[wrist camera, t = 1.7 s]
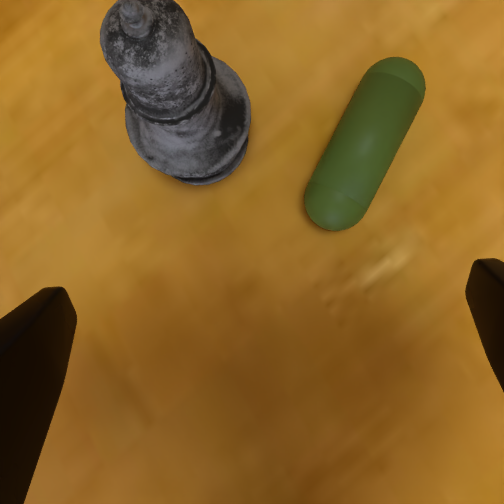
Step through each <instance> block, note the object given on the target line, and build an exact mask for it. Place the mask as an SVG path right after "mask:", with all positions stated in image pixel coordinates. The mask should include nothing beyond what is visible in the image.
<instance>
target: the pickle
mask: <svg viewBox="0 0 504 504" xmlns="http://www.w3.org/2000/svg"><path fill="white" fill-rule="evenodd" d="M425 89H426V87H425V79H424V76H423V74H422V72H421V70H420V69H419V67H418V66H417V65H416V64H415V63H413V62H412V61H410V60H408V59H405V58H402V57H390V58H386V59H383V60H380V61H378V62H377V63H375V64H374V65H372V66H371V67H370V68H369V69H368V70H367V72H366V73H365V75H364V76H363V78H362V80H361V81H360V83H359V85H358V87H357V89H356V91H355V93H354V95H353V97H352V99H351V101H350V103H349V105H348V107H347V109H346V111H345V113H344V115H343V116H342V118H341V120H340V122H339V124H338V126H337V128H336V130H335V132H334V134H333V136H332V138H331V140H330V142H329V144H328V146H327V148H326V150H325V151H324V153H323V155H322V157H321V159H320V161H319V163H318V165H317V167H316V169H315V171H314V173H313V175H312V177H311V179H310V181H309V183H308V185H307V187H306V190H305V195H304V204H305V208H306V211H307V213H308V215H309V217H310V218H311V219H312V221H314V222H315V223H316V224H317V225H318V226H320V227H322V228H324V229H327V230H332V231H340V230H345V229H348V228H350V227H352V226H354V225H355V224H357V223H358V222H359V221H360V220H361V219H362V218H363V216H364V215H365V213H366V212H367V210H368V208H369V206H370V204H371V202H372V200H373V198H374V196H375V194H376V192H377V190H378V188H379V186H380V184H381V182H382V180H383V178H384V176H385V174H386V173H387V171H388V169H389V167H390V165H391V163H392V161H393V159H394V157H395V155H396V153H397V151H398V149H399V147H400V145H401V143H402V141H403V139H404V137H405V135H406V133H407V132H408V130H409V128H410V126H411V124H412V122H413V120H414V118H415V116H416V114H417V112H418V110H419V108H420V106H421V104H422V102H423V99H424V95H425Z"/></svg>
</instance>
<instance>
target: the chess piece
mask: <svg viewBox="0 0 504 504" xmlns="http://www.w3.org/2000/svg"><path fill="white" fill-rule="evenodd" d="M100 44H101V48H102V51H103V54H104V57H105V60H106V62H107V63H108V65H109V66H110V68H111V69H112V71H113V72H114V73H115V74H116V76H117V77H118V78H119V79H120V86H121V90H122V94H123V97H124V100H125V101H126V103H127V104H126V108H125V121H126V129H127V132H128V135H129V138H130V142H131V143H132V145H133V146H134V148H135V150H136V151H137V153H138V154H139V156H140V157H142V158H143V159H144V160H145V161H146V162H147V163H148V164H149V165H150V166H151V167H153V168H155V169H157V170H159V171H161V172H163V173H165V174H167V175H171V176H172V177H174V178H176V179H178V180H179V181H181V182H183V183H188V184H193V185H208V184H211V183H214V182H218V181H220V180H222V179H224V178H225V177H227V176H228V175H230V174H231V173H232V172H233V171H234V170H235V169H236V168H237V167H238V166H239V164H240V163H241V161H242V159H243V157H244V155H245V153H246V149H247V144H248V131H249V126H250V122H251V108H250V100H249V97H248V94H247V91H246V88H245V86H244V84H243V83H242V81H241V79H240V78H239V76H238V75H237V73H236V72H235V71H233V70H232V69H231V68H230V67H229V66H228V65H227V64H226V63H225V62H223V61H221V60H219V59H217V58H215V57H213V56H211V55H210V53H209V51H208V50H207V48H206V47H205V46H204V45H203V44H202V43H201V42H199V41H198V40H197V39H196V38H195V36H194V33H193V30H192V27H191V24H190V21H189V19H188V17H187V16H186V14H185V13H184V11H183V9H182V8H181V7H180V6H179V5H178V4H177V3H176V2H175V1H174V0H118V1H117V2H116V3H115V4H114V5H113V6H112V7H111V8H110V9H109V10H108V12H107V14H106V16H105V18H104V19H103V22H102V26H101V30H100Z"/></svg>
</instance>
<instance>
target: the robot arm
mask: <svg viewBox="0 0 504 504" xmlns="http://www.w3.org/2000/svg"><path fill="white" fill-rule="evenodd" d="M465 294H466V299H467V302H468V305H469V308H470V311H471V314H472V316H473V319H474V322H475V325H476V328H477V331H478V333H479V336H480V339H481V342H482V345H483V348H484V350H485V353H486V356H487V358H488V360H489V363H490V365H491V367H492V369H493V371H494V373H495V375H496V377H497V379H498V381H499V383H500V385H501V388H502V390H503V392H504V262H502V261H500V260H498V259H496V258H487V259H477V260H475V261H474V263H473V265H472V267H471V271H470V274H469V278H468V282H467V285H466V290H465ZM76 325H77V315H76V311H75V309H74V307H73V305H72V302H71V300H70V298H69V295H68V293H67V291H66V290H65V289H64V288H63V287H46V288H43V289H41V290H40V291H39V292H37V293H36V294H35V295H33V296H32V297H30V298H29V299H28V300H26V301H25V302H23V303H22V304H21V305H19V306H18V307H17V308H15V309H14V310H12V311H11V312H10V313H8V314H7V315H5V316H4V317H3V318H1V319H0V504H24V501H25V498H26V495H27V492H28V489H29V486H30V483H31V480H32V477H33V474H34V471H35V468H36V465H37V462H38V459H39V456H40V453H41V451H42V448H43V445H44V442H45V439H46V436H47V433H48V430H49V427H50V424H51V421H52V418H53V415H54V412H55V409H56V406H57V403H58V400H59V397H60V394H61V391H62V387H63V384H64V380H65V376H66V372H67V367H68V362H69V358H70V353H71V348H72V343H73V339H74V334H75V329H76Z"/></svg>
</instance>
